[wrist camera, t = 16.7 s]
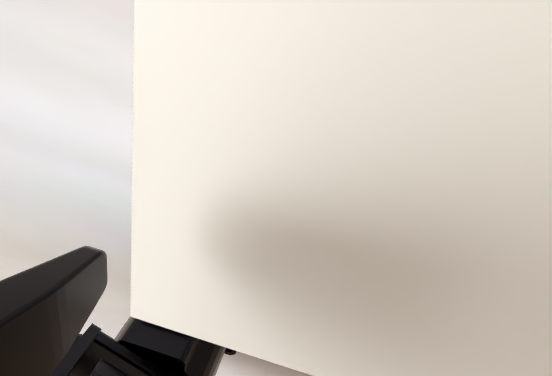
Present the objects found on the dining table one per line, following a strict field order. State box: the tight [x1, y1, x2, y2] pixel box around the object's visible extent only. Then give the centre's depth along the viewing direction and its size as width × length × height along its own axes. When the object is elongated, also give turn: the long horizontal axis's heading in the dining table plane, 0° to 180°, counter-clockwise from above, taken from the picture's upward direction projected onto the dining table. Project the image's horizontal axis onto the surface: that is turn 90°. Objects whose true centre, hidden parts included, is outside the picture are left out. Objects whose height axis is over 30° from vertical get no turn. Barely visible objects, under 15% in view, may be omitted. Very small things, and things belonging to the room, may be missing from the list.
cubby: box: [130, 0, 552, 376], centre depth 12 cm, size 16×12×10 cm
